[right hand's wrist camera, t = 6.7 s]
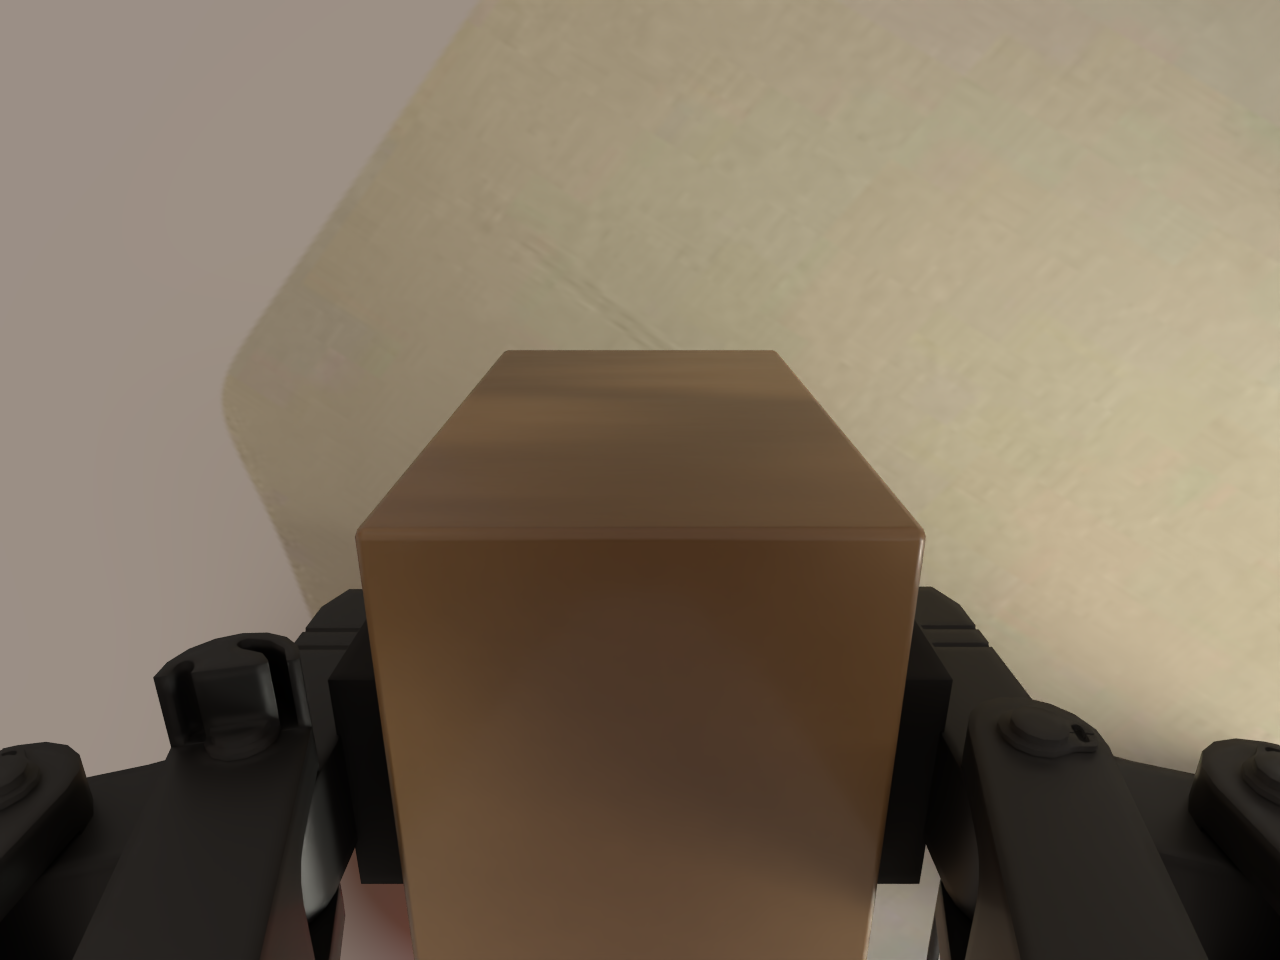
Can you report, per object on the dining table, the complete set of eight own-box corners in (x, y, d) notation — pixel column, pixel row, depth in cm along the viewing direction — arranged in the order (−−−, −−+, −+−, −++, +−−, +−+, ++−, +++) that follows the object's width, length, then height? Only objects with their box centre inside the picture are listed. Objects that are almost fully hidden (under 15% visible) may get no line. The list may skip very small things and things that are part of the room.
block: (522, 668, 16) (425, 1066, 9) (503, 349, 14) (350, 530, 6) (757, 668, 16) (854, 1067, 9) (777, 349, 14) (931, 530, 6)
